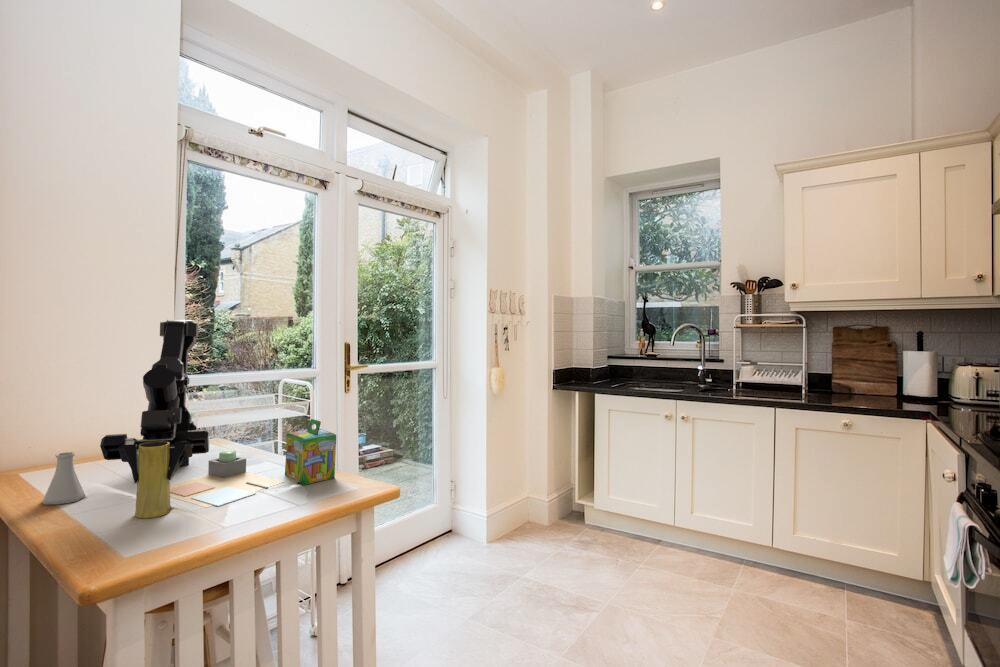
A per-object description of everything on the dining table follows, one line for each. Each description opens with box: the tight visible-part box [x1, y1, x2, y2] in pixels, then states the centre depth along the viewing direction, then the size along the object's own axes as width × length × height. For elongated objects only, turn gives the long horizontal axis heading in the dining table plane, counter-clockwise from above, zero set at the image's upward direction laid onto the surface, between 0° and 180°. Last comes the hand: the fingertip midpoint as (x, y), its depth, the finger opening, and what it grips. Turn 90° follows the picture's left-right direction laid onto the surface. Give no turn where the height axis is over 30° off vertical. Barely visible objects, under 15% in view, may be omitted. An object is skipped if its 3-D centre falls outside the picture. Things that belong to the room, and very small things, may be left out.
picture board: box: [170, 471, 286, 509], centre depth 119 cm, size 22×20×1 cm
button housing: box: [207, 455, 247, 478], centre depth 129 cm, size 6×6×4 cm
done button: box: [218, 449, 237, 463], centre depth 128 cm, size 4×4×4 cm
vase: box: [134, 441, 172, 520], centre depth 104 cm, size 6×6×14 cm
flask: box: [42, 451, 86, 505], centre depth 109 cm, size 7×7×10 cm
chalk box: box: [284, 418, 337, 486], centre depth 130 cm, size 9×9×15 cm
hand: (152, 480), depth 103 cm, fingers closed on vase, 5 cm apart
